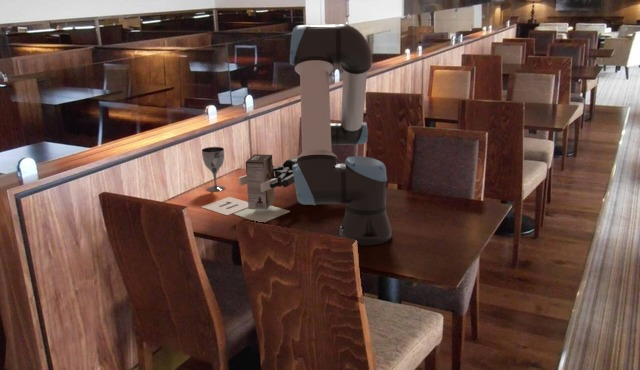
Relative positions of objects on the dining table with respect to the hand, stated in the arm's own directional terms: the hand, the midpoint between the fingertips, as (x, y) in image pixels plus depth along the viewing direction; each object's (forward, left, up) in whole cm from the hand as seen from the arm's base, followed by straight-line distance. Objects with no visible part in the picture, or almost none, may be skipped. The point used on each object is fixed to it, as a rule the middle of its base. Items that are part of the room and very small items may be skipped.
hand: (250, 184), depth 189 cm
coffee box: (0, -5, -8) cm, 10 cm away
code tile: (+14, -2, -11) cm, 18 cm away
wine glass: (+32, -12, -11) cm, 36 cm away
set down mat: (0, -4, -11) cm, 12 cm away
